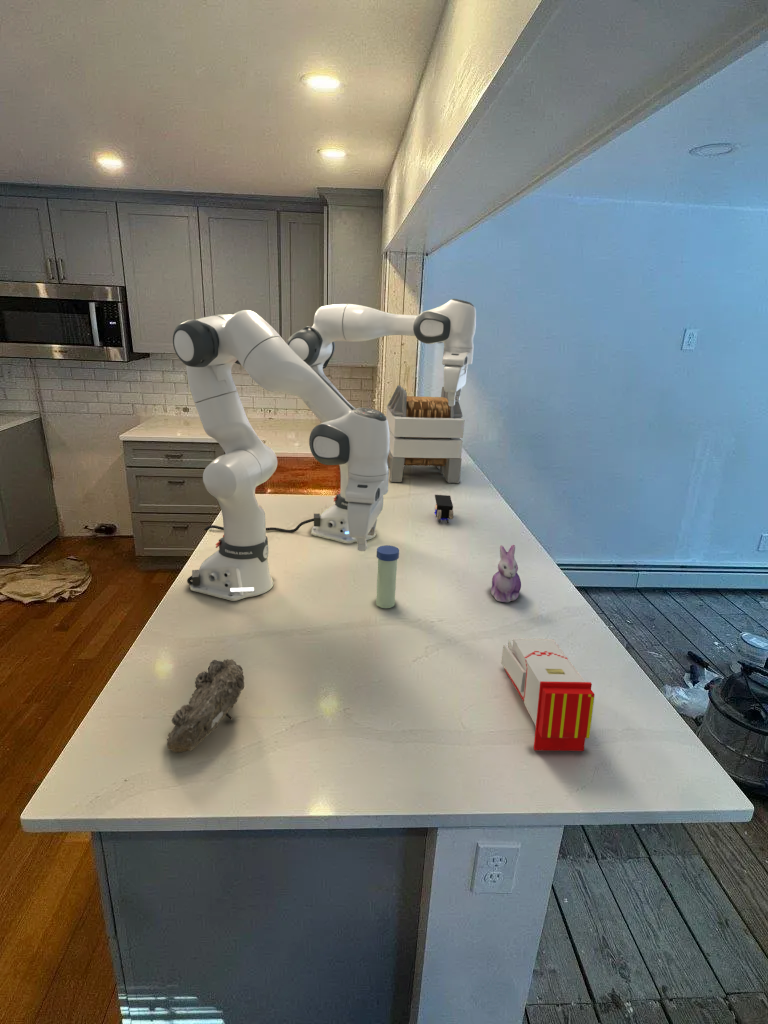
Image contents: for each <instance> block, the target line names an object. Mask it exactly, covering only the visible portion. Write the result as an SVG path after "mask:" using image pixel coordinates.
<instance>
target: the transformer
mask: <svg viewBox="0 0 768 1024" xmlns="http://www.w3.org/2000/svg"><path fill="white" fill-rule="evenodd" d="M440 393H441V394H440V396H415V395H414V396H413V395H412V396H411V395H407V394H408V393H407V390H406V389H404V388H403V387H402V385H399V384H398V385H397V386H396V388H395V390H394V392H393V394H392V395H391V398H390V400H389V402H388V404H387V405H386V413H385V414H386V415H385V416H386V418H387V420H388V424H389V437H390V448H389V455H388V458H387V465H388V468H389V477H388V479H389V480H390V482H391V483H402V482H403V475H404V469H405V466H406V467H407V466H411V467H412V466H413V467H415V466H416V467H417V466H418V467H436V468H437V470H438V469H439V473H440V474H441V475H443V478H444V479H445V481H446V482H447V483H449V484H455V483H456V484H459V483H461V472H462V461H463V460H462V453H463V442H464V441H463V440H462V439H463V438H464V431H465V430H464V429H465V419H464V418H463V411H462V408H461V405H460V401H458V402H455V405H454V406H449V405H448V401H449V400H448V392H445V390H444V386H442V387H441V392H440Z"/></svg>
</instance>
